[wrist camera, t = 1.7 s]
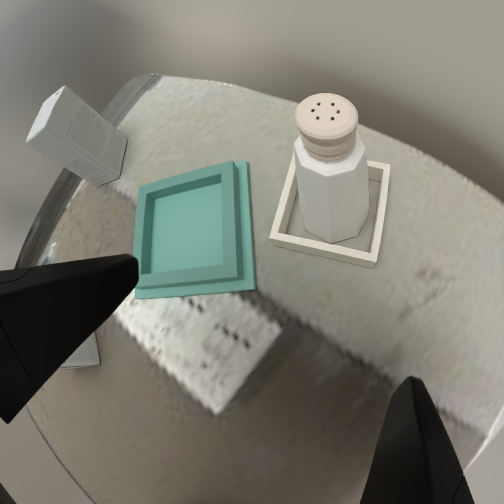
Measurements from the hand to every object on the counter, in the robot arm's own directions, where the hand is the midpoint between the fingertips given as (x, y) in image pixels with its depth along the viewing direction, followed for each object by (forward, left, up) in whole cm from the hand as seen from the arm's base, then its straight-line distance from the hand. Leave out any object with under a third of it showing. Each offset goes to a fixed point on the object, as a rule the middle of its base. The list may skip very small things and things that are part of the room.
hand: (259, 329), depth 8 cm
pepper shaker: (+8, -4, -13) cm, 16 cm away
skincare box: (+21, +19, -13) cm, 31 cm away
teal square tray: (+9, +8, -13) cm, 18 cm away
